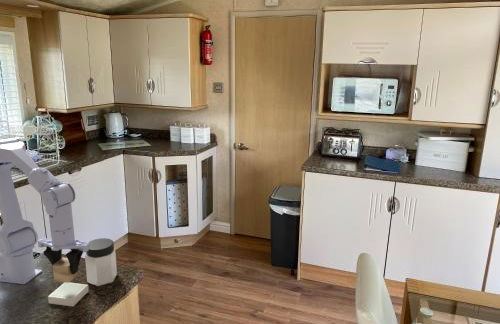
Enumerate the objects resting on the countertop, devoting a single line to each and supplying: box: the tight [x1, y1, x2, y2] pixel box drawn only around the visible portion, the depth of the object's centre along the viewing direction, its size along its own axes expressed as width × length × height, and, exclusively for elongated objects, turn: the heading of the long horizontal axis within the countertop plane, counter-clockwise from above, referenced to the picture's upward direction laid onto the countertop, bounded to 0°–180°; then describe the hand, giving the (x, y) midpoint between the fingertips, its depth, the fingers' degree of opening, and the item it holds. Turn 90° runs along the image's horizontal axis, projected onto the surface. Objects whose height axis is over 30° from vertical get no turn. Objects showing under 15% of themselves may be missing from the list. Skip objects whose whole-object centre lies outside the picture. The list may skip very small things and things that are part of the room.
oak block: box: [52, 256, 80, 283], centre depth 106 cm, size 4×4×5 cm
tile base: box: [47, 282, 89, 307], centre depth 108 cm, size 8×8×2 cm
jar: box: [84, 237, 118, 287], centre depth 117 cm, size 9×8×12 cm
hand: (66, 271), depth 106 cm, fingers closed on oak block, 4 cm apart
